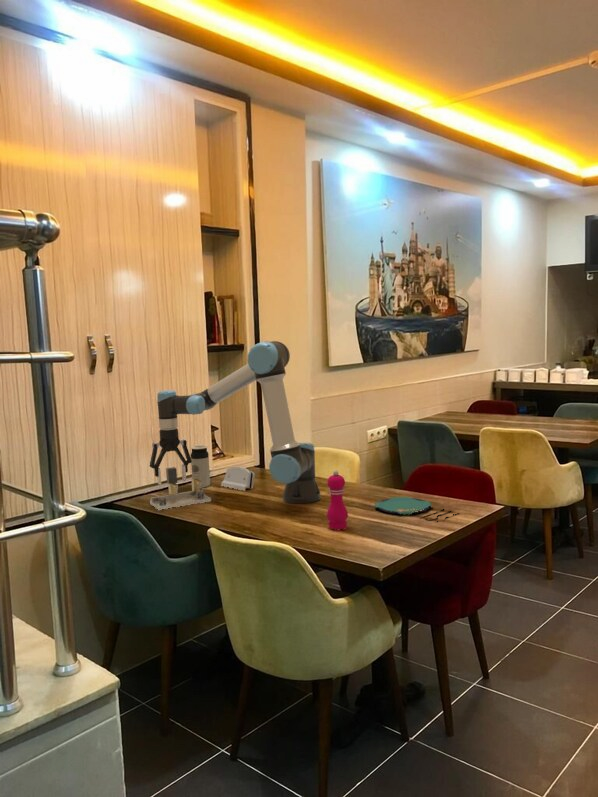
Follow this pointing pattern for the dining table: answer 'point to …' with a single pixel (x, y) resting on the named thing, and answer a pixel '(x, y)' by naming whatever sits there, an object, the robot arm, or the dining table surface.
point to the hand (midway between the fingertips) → (172, 482)
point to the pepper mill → (336, 502)
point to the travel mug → (200, 464)
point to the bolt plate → (181, 497)
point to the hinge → (238, 478)
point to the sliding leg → (172, 480)
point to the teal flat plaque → (403, 505)
